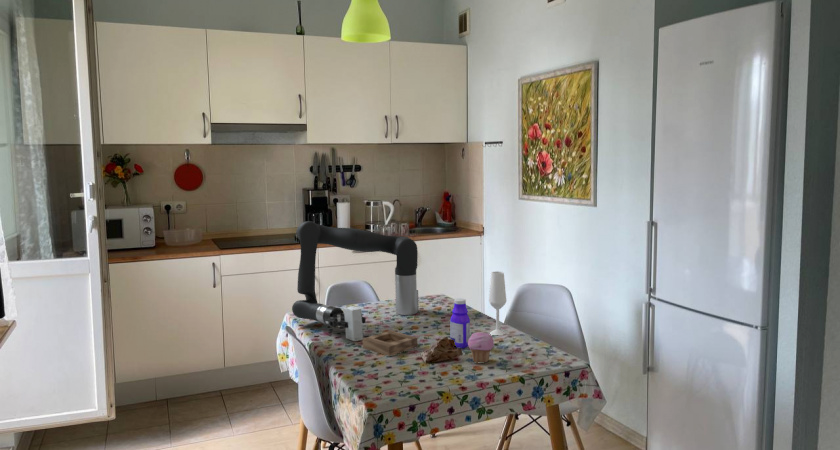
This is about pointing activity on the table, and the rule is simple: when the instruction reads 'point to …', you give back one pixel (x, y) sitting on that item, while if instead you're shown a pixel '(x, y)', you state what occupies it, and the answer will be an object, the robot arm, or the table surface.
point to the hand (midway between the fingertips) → (356, 322)
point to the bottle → (460, 324)
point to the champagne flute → (497, 297)
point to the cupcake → (480, 346)
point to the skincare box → (353, 323)
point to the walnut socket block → (389, 343)
